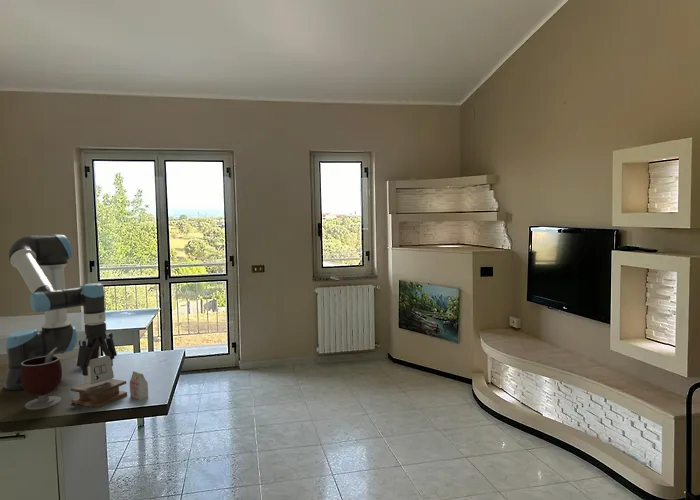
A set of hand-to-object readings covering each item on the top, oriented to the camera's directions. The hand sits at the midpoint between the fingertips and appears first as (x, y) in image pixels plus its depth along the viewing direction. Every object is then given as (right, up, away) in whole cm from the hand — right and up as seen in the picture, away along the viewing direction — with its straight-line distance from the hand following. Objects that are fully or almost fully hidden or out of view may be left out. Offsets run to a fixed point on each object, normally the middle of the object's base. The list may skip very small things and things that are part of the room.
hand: (98, 379), depth 201 cm
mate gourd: (-20, -9, -1) cm, 22 cm away
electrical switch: (0, -1, 0) cm, 1 cm away
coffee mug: (-28, -5, +49) cm, 56 cm away
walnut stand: (0, -8, +1) cm, 8 cm away
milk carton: (+15, -8, +3) cm, 17 cm away
